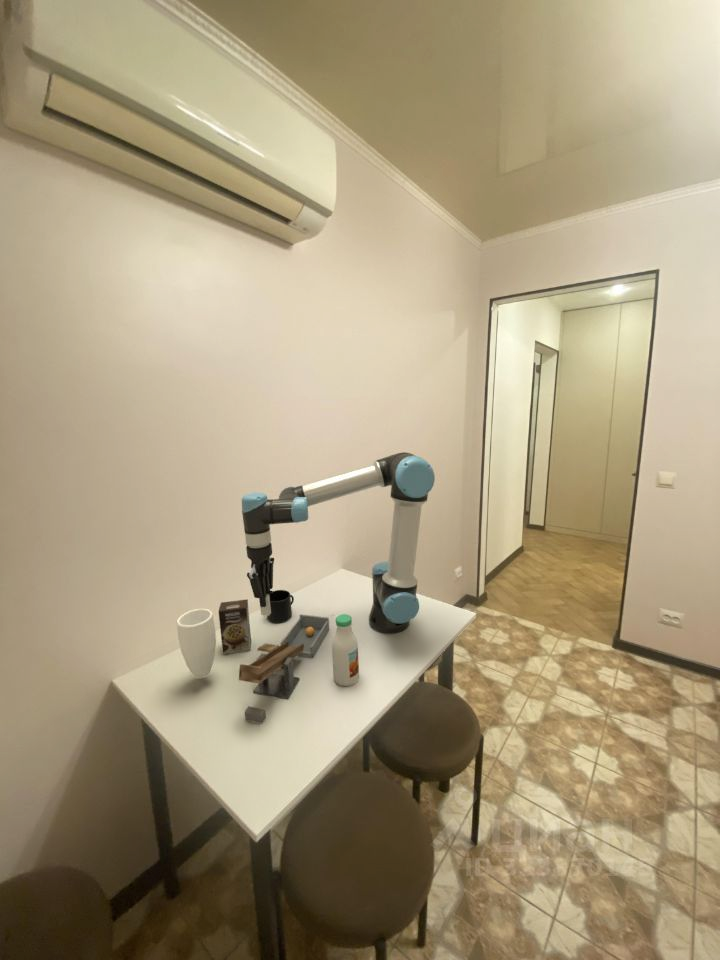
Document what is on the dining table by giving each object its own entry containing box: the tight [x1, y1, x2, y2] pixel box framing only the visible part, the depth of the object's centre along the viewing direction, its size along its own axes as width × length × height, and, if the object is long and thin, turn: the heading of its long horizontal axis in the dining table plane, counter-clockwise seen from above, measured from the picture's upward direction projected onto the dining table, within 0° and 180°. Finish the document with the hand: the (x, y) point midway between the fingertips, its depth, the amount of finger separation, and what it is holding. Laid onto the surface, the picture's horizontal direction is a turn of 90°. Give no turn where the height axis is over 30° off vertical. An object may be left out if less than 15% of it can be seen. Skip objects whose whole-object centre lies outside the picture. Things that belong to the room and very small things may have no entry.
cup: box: [176, 608, 217, 679], centre depth 115 cm, size 10×10×22 cm
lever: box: [238, 641, 304, 685], centre depth 113 cm, size 14×28×5 cm, turn 165°
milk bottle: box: [331, 613, 360, 687], centre depth 114 cm, size 8×8×20 cm
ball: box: [306, 627, 314, 636], centre depth 138 cm, size 3×3×3 cm
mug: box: [266, 589, 295, 624], centre depth 151 cm, size 9×12×9 cm
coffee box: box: [218, 599, 252, 656], centre depth 131 cm, size 9×6×16 cm
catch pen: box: [280, 614, 330, 659], centre depth 134 cm, size 11×16×5 cm
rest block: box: [244, 705, 267, 724], centre depth 102 cm, size 5×2×2 cm, turn 75°
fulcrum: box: [252, 653, 300, 700], centre depth 113 cm, size 11×8×9 cm
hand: (266, 613), depth 123 cm, fingers closed
